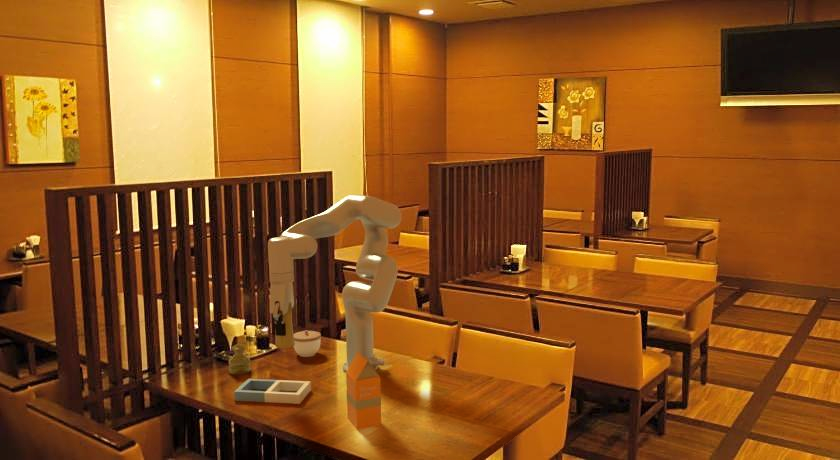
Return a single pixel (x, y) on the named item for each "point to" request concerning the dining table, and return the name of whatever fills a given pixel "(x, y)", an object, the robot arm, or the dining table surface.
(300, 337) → the lidded jar
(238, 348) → the olive bulbous piece
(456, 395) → the dining table surface
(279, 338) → the vase
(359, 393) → the orange juice
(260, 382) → the pocket rack
